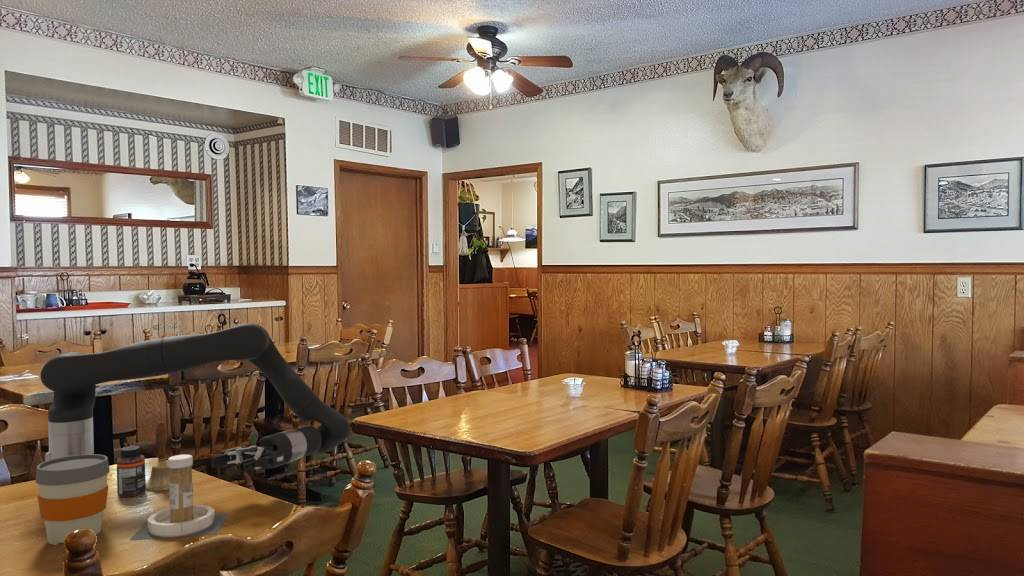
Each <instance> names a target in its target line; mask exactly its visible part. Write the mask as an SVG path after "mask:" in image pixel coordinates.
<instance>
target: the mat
mask: <svg viewBox="0 0 1024 576" xmlns="http://www.w3.org/2000/svg"><path fill="white" fill-rule="evenodd" d="M214 516H215V518H214V522H213V524H212V525H211V526H210V527H209V528H207V529H205V530H203V531H200V532H197V533H194V534H190V535H185V536H179V537H178V538H180V537H181V538H183V537H195V536H211V535H217V534H218V532H219V531H220V529H221V528H222V526H223V525H224V523H225V522H226V519H227V518H228V516H230V513H214ZM167 538H171V537H157V536H153V535H151V534H150V533H149V528H148V523H147V521H146V522H145V523H144V524H143V525H142V526H141V527H140V528H139V529H138V530H137V531H136V532H135V534H133V535H132V537H131V538H129V541H139V540H154V539H167Z"/></svg>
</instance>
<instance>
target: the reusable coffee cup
mask: <svg viewBox="0 0 1024 576" xmlns="http://www.w3.org/2000/svg"><path fill="white" fill-rule="evenodd" d="M35 471H36V472H35V484H37V488H38V494H37V496H36V498H37V502H38V509H39V513H40V519H42V520H43V521H44V528H45V532H46V539H47V542H48V544H49V545H53V546H57V545H58V544H59V543H60V544H61V543H65V542H64V538H65V536H66V535H67V534H68V533H70V532H72V531H75V530H78V529H91V530H93V531H94V532H95V533H96V535H97V534H99V533H100V532H101V530H102V524H103V516H104V511H105V509H106V508H107V504H108V503H107V501H108V500H107V499H108V494H109V484H108V483H107V482H108V474H109V473H110V472H111V471H110V466H109V457H108V456H106V455H104V454H98V453H97V454H96V453H95V454H84V455H73V456H66V457H61V458H56V459H52V460H48V461H45V460H44V461H43V462H41V463H39V464H38V465H36V470H35Z"/></svg>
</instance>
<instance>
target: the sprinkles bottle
mask: <svg viewBox="0 0 1024 576" xmlns="http://www.w3.org/2000/svg"><path fill="white" fill-rule="evenodd" d="M193 459H194V457H193V455H191V454H175V455H173V456H170V457H168V459H167V462H168V467H169V480H170V482H169V490H168V491H169V508H170V511H171V520H170V523H182V522H187V521H191V520H194V516H193V505H194V487H193V485H194V484H193V483H194V482H193V464H194V460H193Z"/></svg>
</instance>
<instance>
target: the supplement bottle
mask: <svg viewBox="0 0 1024 576" xmlns="http://www.w3.org/2000/svg"><path fill="white" fill-rule="evenodd" d="M116 482H117V483H116V484H117V488H116V489H117V490H116V491H117V497H118V498H120V499H130V498H131V499H132V498H138V497H140V496H142V495H144V494H146V491H147V490H146V483H147V482H146V458H145V456H144V455H143V454H142V453H141V447H140V446H139V445H131V446H129V445H128V446H124V447H122V448H121V449H120V457H118V459H117V460H116Z"/></svg>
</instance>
